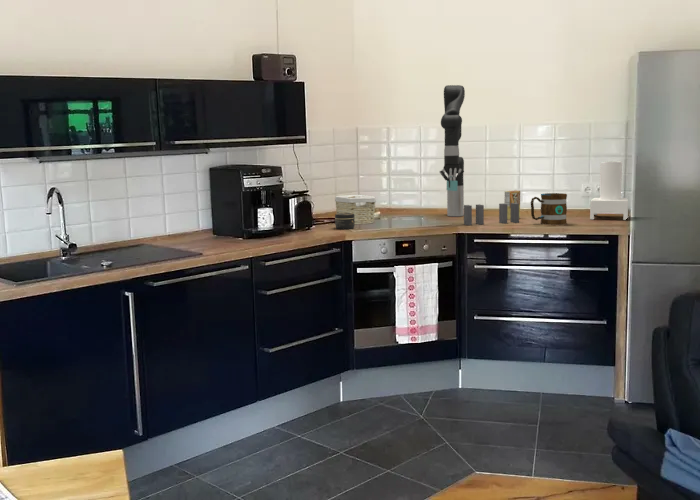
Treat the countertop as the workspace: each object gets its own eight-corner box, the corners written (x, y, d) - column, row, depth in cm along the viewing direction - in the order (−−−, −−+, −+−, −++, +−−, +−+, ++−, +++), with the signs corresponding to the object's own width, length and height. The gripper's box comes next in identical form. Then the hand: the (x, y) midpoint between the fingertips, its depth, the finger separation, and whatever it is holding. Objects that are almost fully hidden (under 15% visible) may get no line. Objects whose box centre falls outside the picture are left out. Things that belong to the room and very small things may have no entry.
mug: (558, 221, 419) (558, 192, 417) (572, 223, 406) (572, 194, 404) (524, 223, 414) (524, 194, 412) (537, 225, 401) (537, 196, 399)
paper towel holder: (590, 219, 426) (591, 162, 421) (593, 215, 443) (594, 161, 439) (627, 219, 419) (628, 162, 414) (629, 216, 436) (630, 161, 432)
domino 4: (514, 223, 416) (514, 203, 415) (510, 222, 421) (510, 203, 420) (518, 222, 417) (519, 203, 415) (515, 221, 421) (515, 202, 420)
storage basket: (334, 221, 445) (333, 195, 443) (361, 220, 450) (361, 193, 448) (348, 225, 422) (348, 197, 420) (377, 224, 428) (376, 196, 426)
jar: (348, 230, 402) (347, 215, 401) (331, 229, 407) (331, 214, 406) (358, 228, 410) (358, 213, 409) (342, 227, 416) (341, 212, 415)
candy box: (514, 218, 441) (514, 190, 439) (520, 218, 438) (520, 190, 435) (503, 219, 435) (504, 191, 433) (510, 219, 432) (510, 191, 430)
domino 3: (502, 223, 415) (503, 204, 413) (499, 222, 420) (499, 203, 418) (507, 223, 415) (507, 204, 414) (503, 222, 420) (503, 203, 419)
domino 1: (467, 225, 411) (467, 205, 409) (463, 224, 416) (463, 205, 414) (471, 225, 411) (471, 205, 410) (468, 224, 416) (468, 204, 415)
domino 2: (479, 224, 412) (479, 205, 411) (475, 223, 417) (475, 204, 415) (483, 224, 413) (483, 205, 411) (480, 223, 417) (480, 204, 416)
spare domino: (452, 181, 403) (446, 180, 413) (452, 190, 404) (446, 189, 414) (457, 180, 404) (451, 180, 413) (457, 190, 404) (450, 189, 414)
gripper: (461, 154, 412) (461, 187, 414) (436, 155, 409) (437, 188, 411) (466, 154, 404) (466, 188, 407) (441, 155, 402) (441, 189, 404)
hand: (451, 188), depth 409 cm, fingers closed, pressing on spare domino
